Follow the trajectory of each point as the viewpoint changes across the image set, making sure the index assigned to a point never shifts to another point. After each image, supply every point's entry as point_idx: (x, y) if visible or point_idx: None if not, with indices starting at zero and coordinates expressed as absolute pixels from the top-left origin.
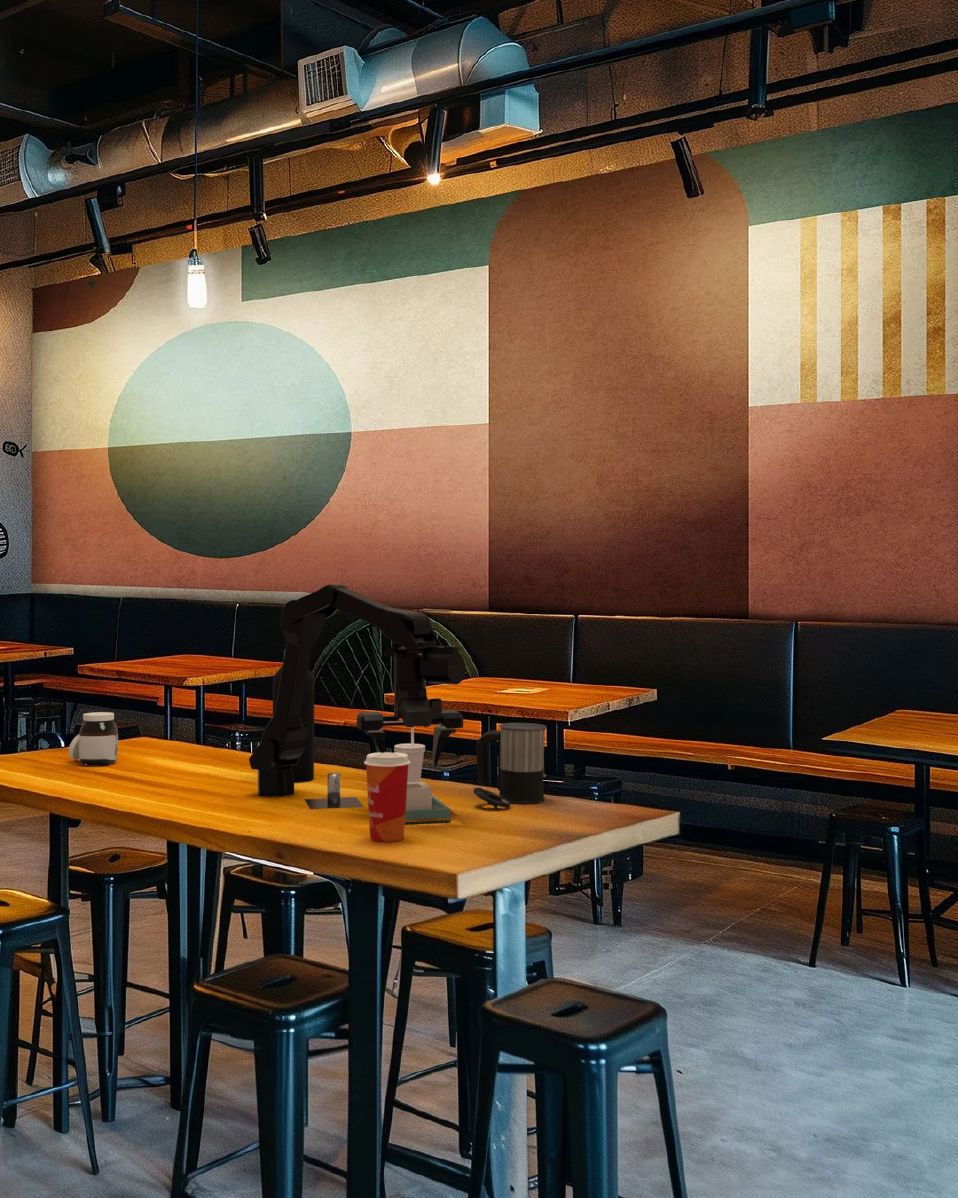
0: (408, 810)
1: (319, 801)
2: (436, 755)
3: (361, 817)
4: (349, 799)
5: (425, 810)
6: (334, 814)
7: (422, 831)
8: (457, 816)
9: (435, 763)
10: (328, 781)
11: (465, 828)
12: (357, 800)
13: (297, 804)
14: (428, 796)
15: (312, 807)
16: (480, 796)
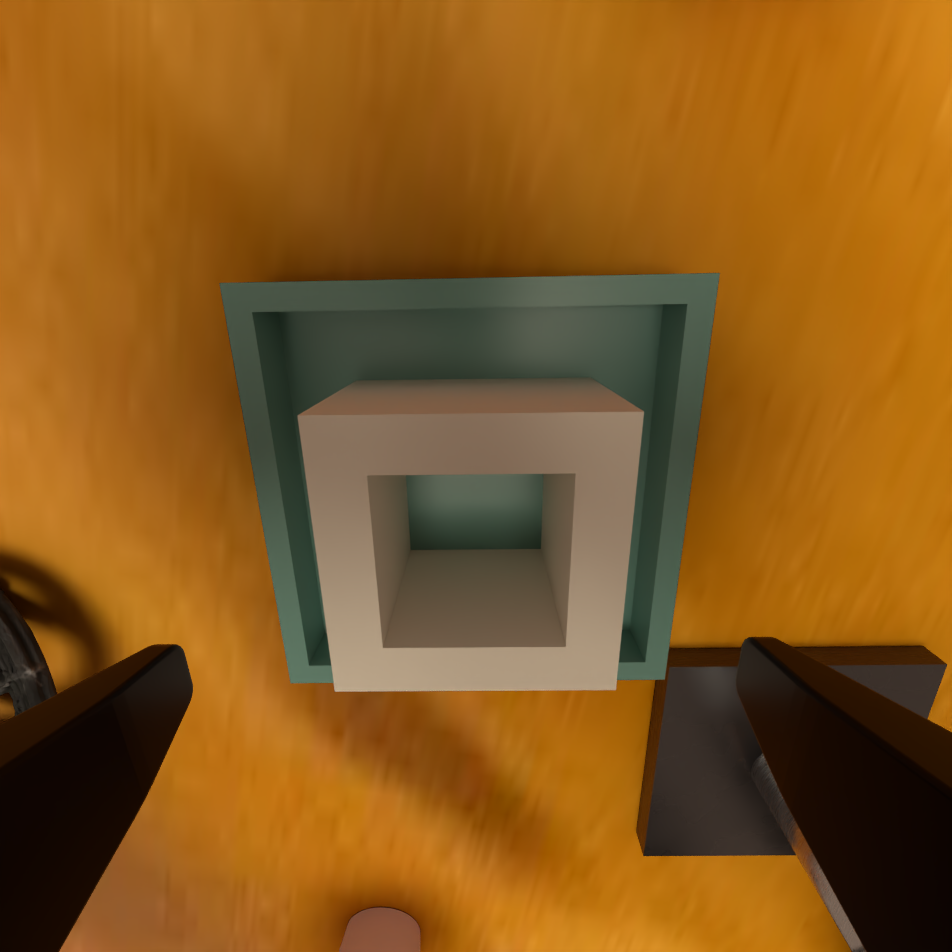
0: (520, 289)
1: None
2: (29, 737)
3: (709, 542)
4: (687, 820)
5: (399, 279)
6: (811, 632)
7: (465, 54)
8: (209, 467)
9: (136, 665)
10: None
11: (173, 93)
12: (658, 796)
13: None
14: (345, 403)
15: (921, 696)
16: (26, 645)
